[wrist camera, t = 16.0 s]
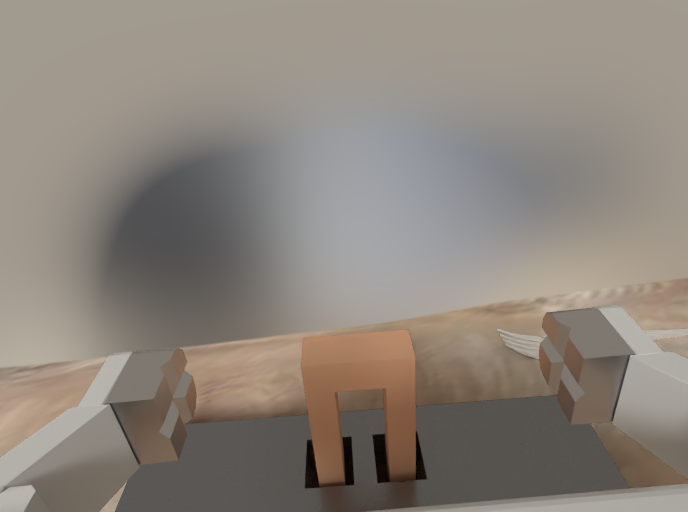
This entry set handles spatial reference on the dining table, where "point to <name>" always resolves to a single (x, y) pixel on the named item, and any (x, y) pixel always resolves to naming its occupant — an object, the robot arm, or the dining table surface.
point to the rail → (379, 462)
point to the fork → (528, 347)
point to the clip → (353, 375)
